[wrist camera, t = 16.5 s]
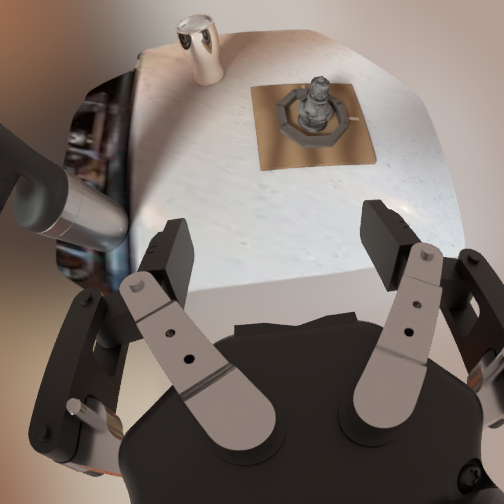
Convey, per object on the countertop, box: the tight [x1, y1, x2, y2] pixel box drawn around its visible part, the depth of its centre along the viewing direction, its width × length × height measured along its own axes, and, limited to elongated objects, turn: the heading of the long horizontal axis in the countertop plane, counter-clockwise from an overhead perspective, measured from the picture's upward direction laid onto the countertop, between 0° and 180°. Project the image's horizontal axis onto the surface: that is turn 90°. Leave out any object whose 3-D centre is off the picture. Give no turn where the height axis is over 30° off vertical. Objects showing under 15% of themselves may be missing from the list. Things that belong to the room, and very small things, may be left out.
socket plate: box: [251, 84, 376, 171], centre depth 44 cm, size 20×18×3 cm
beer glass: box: [175, 14, 224, 86], centre depth 42 cm, size 7×7×15 cm
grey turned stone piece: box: [298, 76, 332, 133], centre depth 39 cm, size 6×6×12 cm
